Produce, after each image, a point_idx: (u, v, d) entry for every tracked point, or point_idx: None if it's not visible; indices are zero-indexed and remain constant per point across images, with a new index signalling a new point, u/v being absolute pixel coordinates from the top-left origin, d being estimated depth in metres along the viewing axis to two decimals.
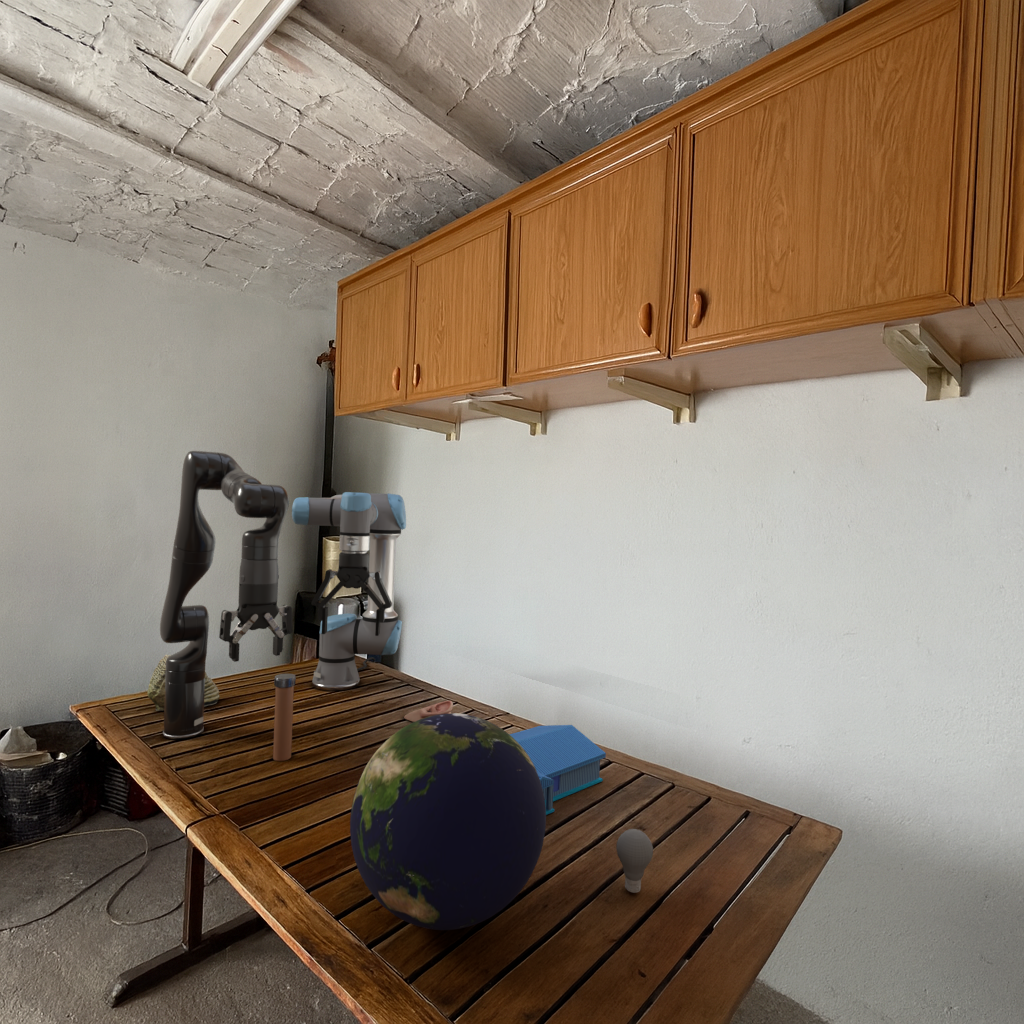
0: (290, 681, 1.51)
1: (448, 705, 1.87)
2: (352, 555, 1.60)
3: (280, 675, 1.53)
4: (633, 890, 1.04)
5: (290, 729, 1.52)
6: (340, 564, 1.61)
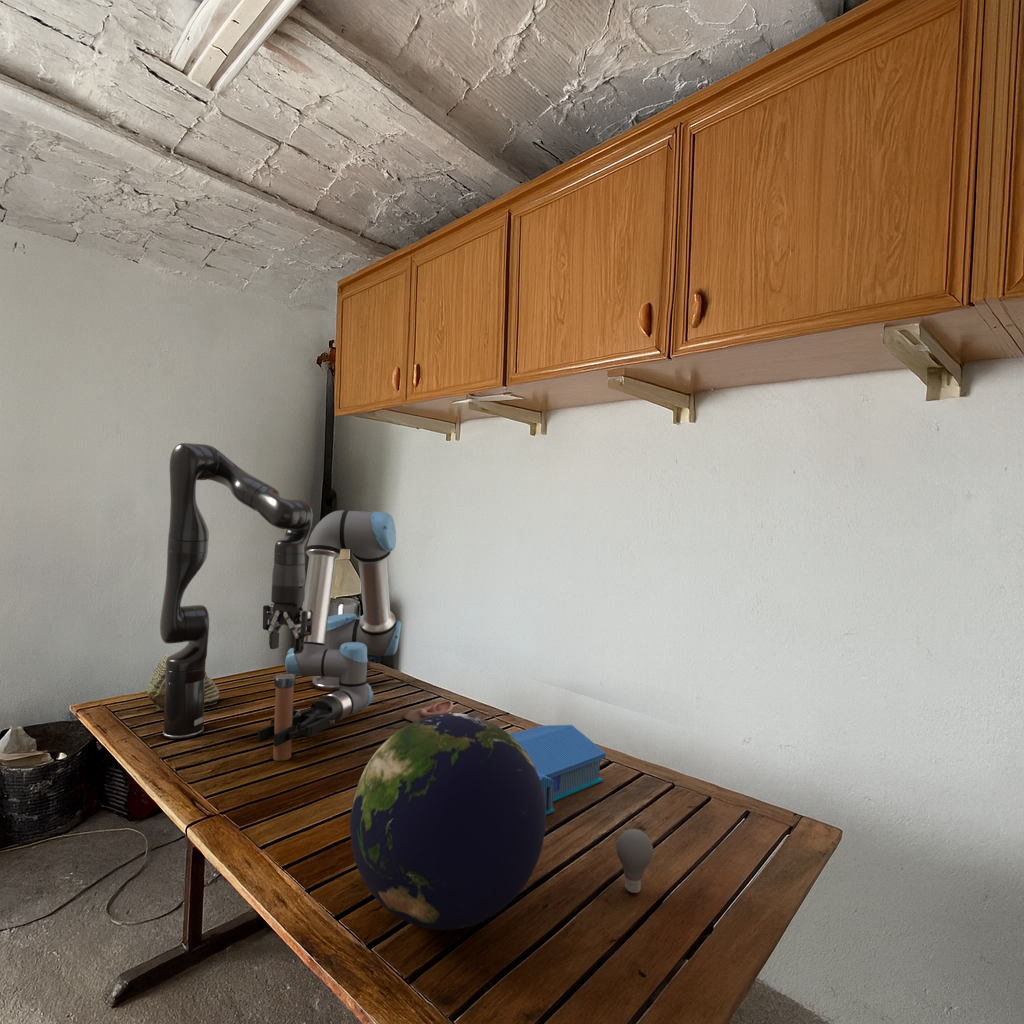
0: (290, 681, 1.51)
1: (448, 705, 1.87)
2: None
3: (280, 675, 1.53)
4: (633, 890, 1.04)
5: None
6: None
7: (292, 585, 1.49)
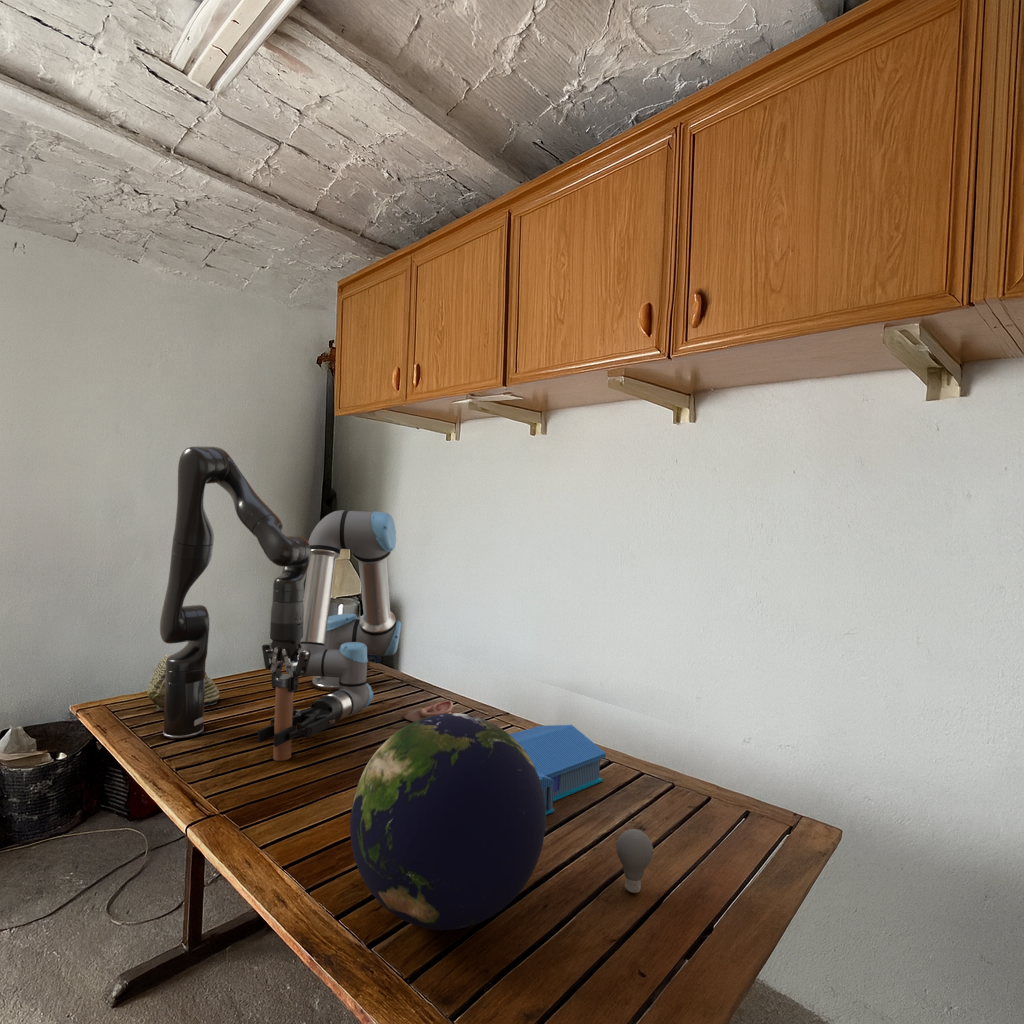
0: None
1: (448, 705, 1.87)
2: None
3: (280, 675, 1.53)
4: (633, 890, 1.04)
5: None
6: None
7: (291, 622, 1.49)
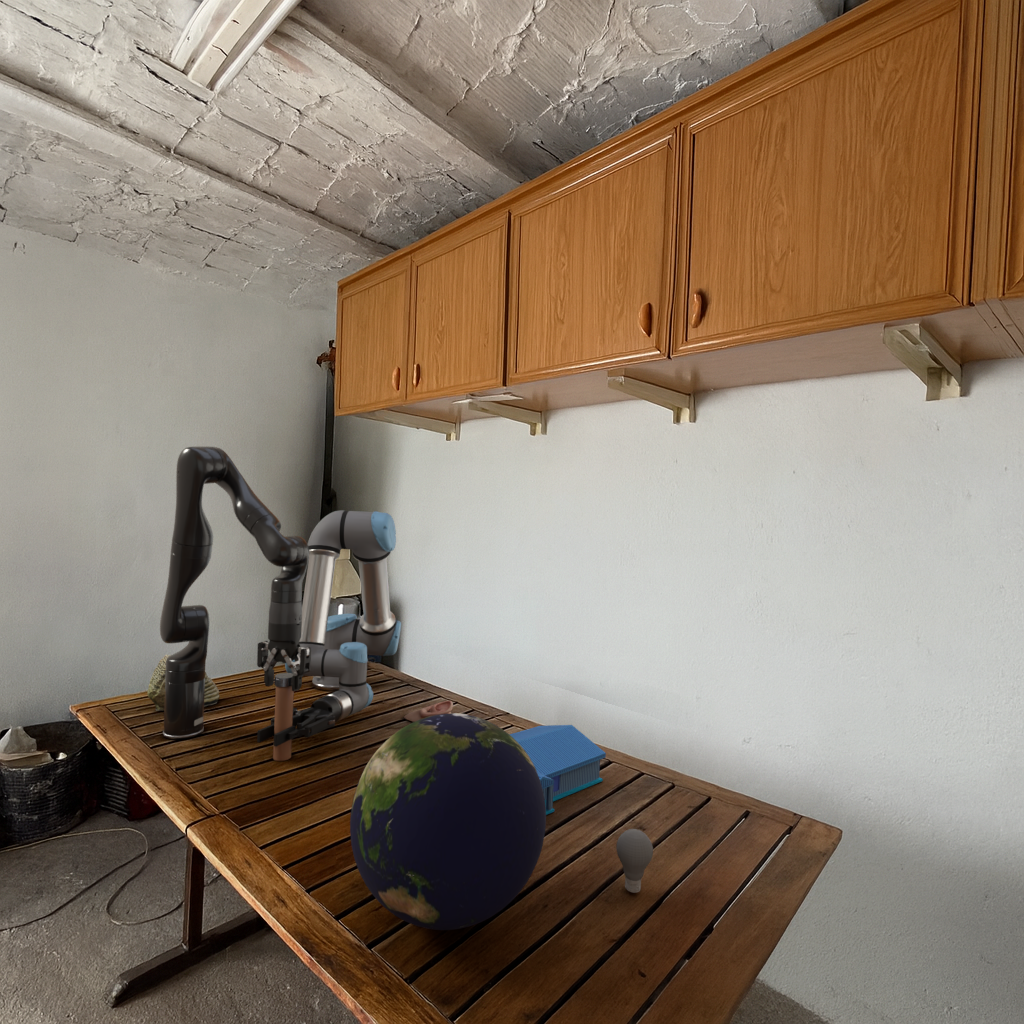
0: None
1: (448, 705, 1.87)
2: None
3: (279, 676, 1.51)
4: (633, 890, 1.04)
5: None
6: None
7: (291, 623, 1.49)
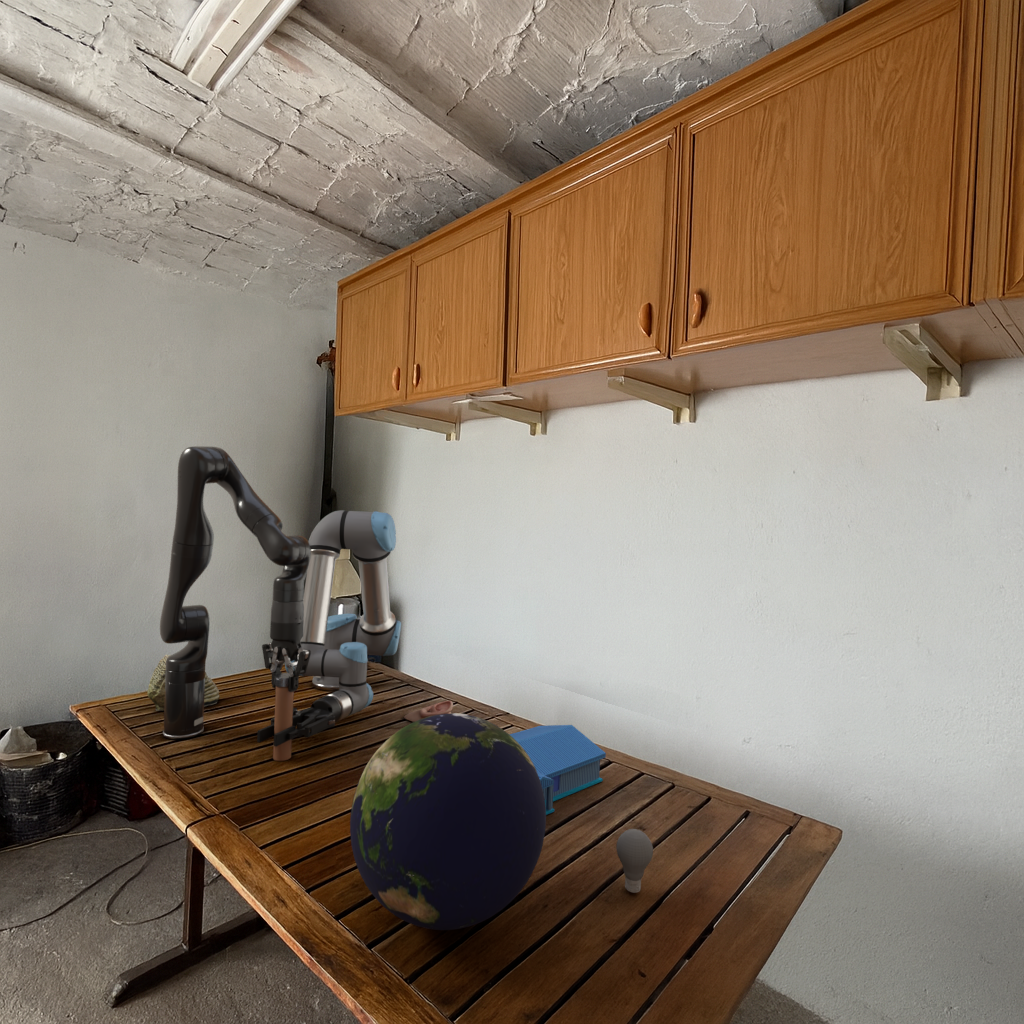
0: None
1: (448, 705, 1.87)
2: None
3: (279, 676, 1.51)
4: (633, 890, 1.04)
5: None
6: None
7: (291, 622, 1.49)
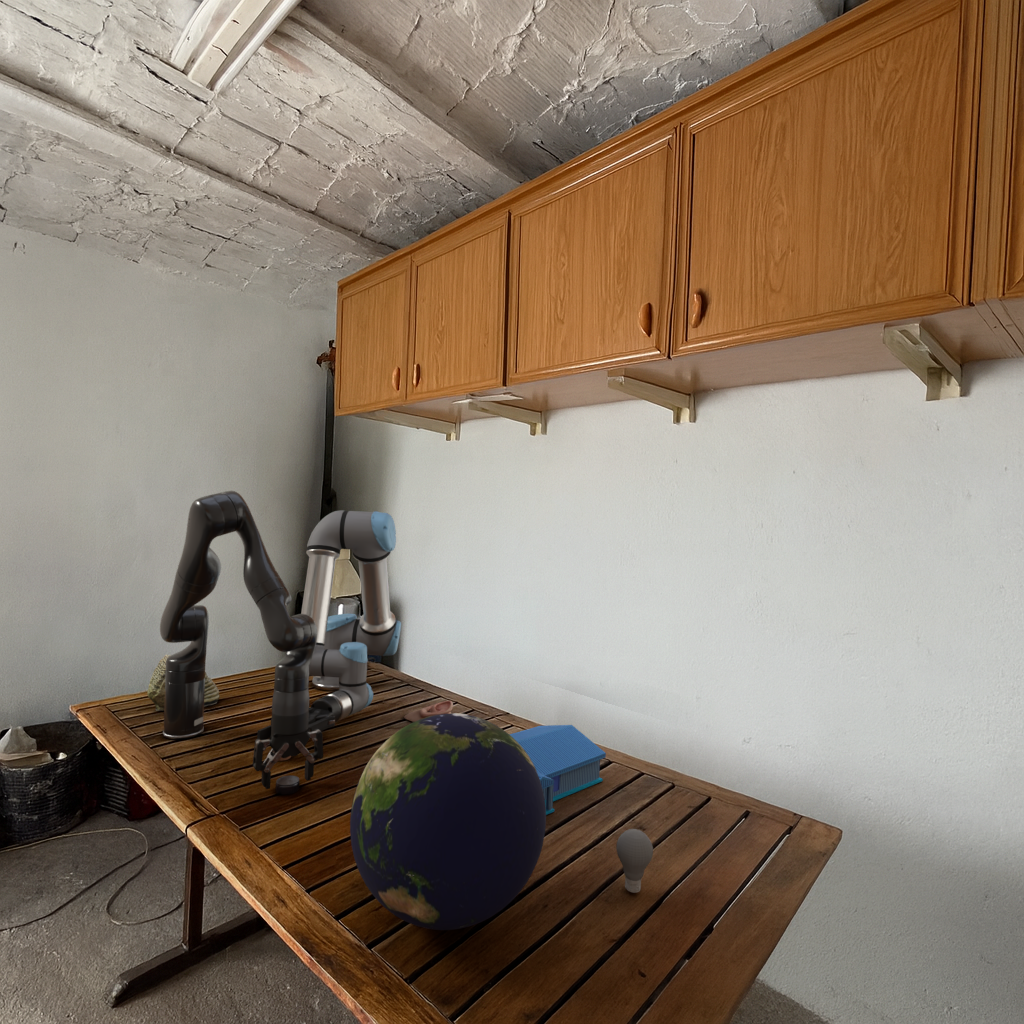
0: None
1: (448, 705, 1.87)
2: None
3: (287, 782, 1.35)
4: (633, 890, 1.04)
5: None
6: None
7: (308, 709, 1.36)
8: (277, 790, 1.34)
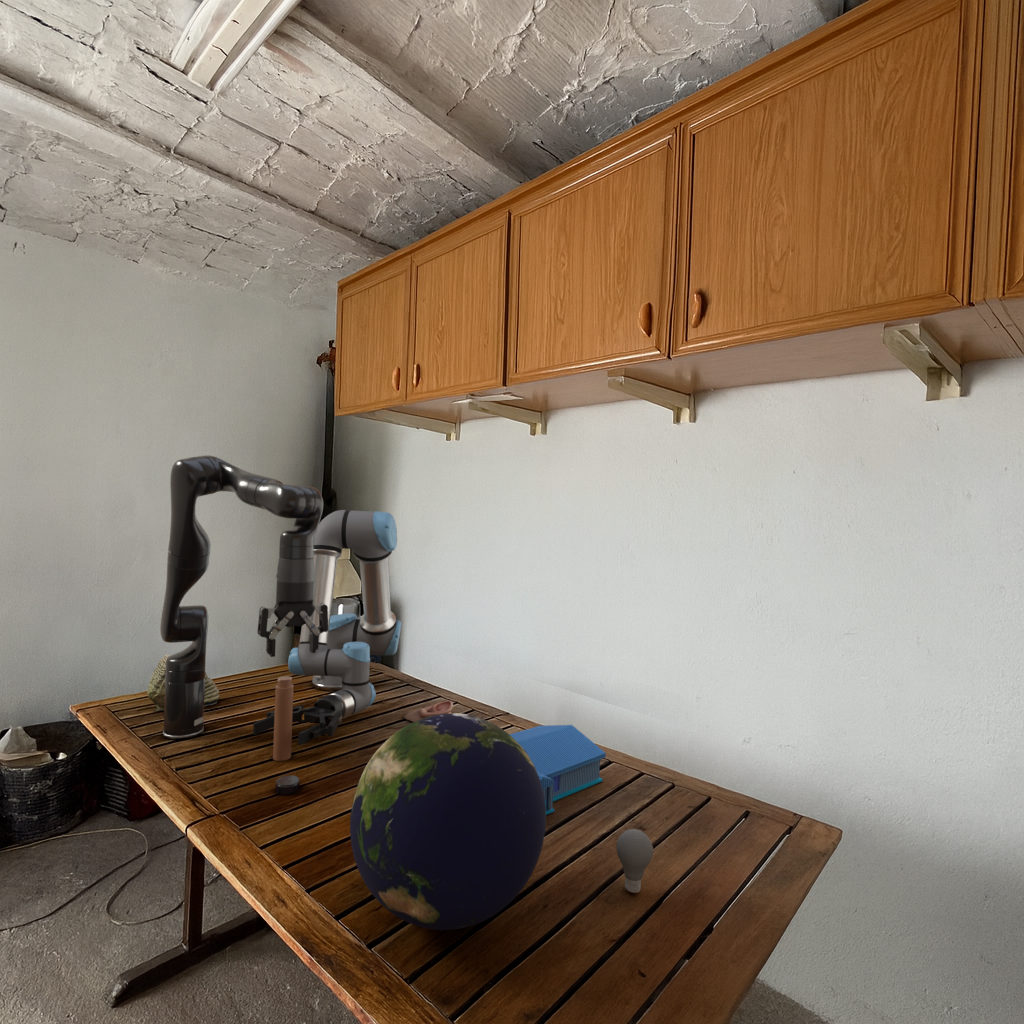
0: None
1: (448, 705, 1.87)
2: None
3: (287, 782, 1.35)
4: (633, 890, 1.04)
5: (290, 729, 1.52)
6: None
7: (313, 580, 1.36)
8: (277, 790, 1.34)
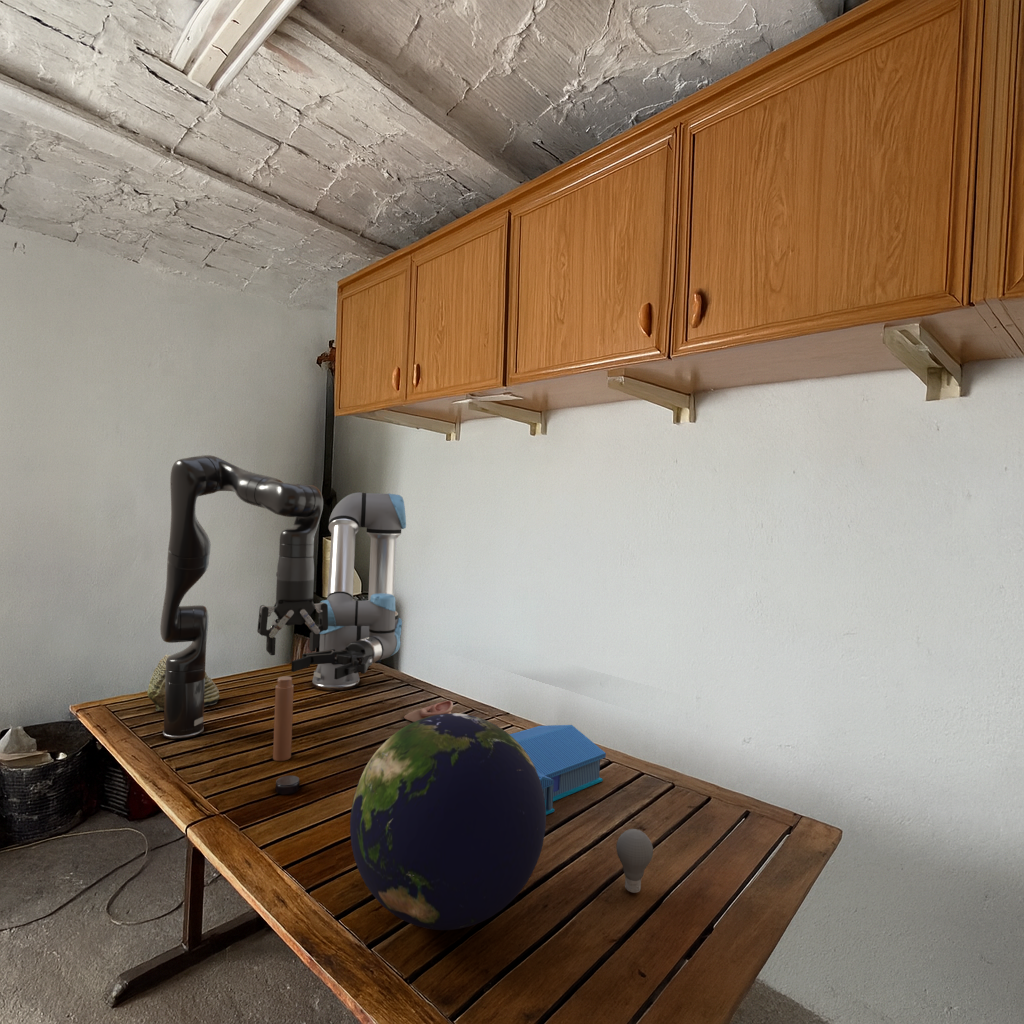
0: None
1: (448, 705, 1.87)
2: None
3: (287, 782, 1.35)
4: (633, 890, 1.04)
5: (290, 729, 1.52)
6: None
7: (313, 578, 1.36)
8: (277, 790, 1.34)
